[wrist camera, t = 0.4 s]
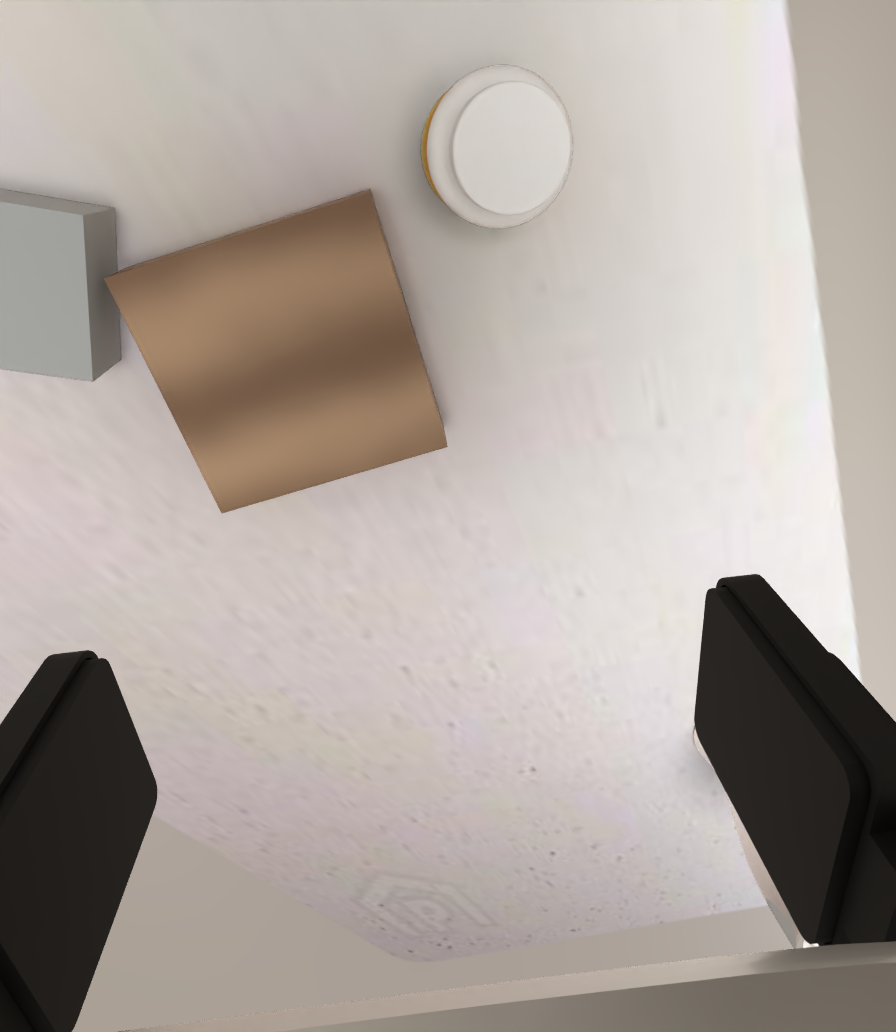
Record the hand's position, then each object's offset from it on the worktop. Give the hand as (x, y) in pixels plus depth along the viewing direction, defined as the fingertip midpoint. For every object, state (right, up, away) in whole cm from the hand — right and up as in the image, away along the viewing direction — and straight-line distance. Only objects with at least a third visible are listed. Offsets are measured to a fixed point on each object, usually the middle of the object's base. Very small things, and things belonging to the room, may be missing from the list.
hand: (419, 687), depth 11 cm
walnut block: (-7, +11, +24) cm, 28 cm away
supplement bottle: (+2, +19, +21) cm, 29 cm away
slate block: (-19, +14, +22) cm, 32 cm away
